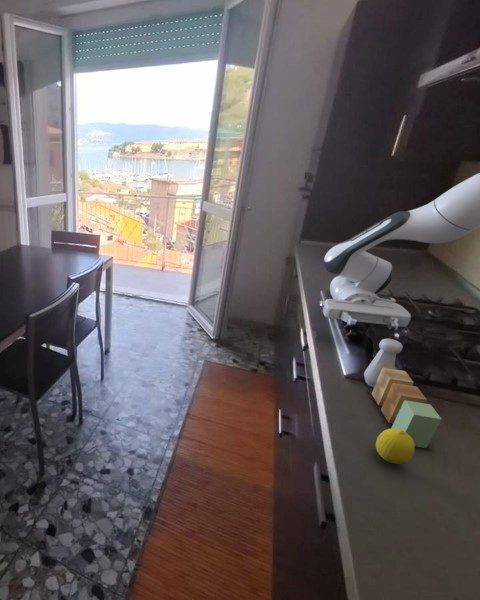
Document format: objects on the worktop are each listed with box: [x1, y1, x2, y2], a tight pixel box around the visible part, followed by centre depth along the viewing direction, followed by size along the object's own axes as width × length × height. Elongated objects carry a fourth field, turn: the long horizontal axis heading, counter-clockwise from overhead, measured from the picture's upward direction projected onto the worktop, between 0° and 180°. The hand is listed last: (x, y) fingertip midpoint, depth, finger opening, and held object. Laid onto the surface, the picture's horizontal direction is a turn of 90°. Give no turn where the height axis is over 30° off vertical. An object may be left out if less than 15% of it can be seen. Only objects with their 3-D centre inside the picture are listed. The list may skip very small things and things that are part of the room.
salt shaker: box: [363, 338, 403, 388], centre depth 90 cm, size 6×6×13 cm
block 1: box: [371, 368, 415, 407], centre depth 85 cm, size 4×4×8 cm
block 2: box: [380, 383, 428, 425], centre depth 80 cm, size 4×4×8 cm
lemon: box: [375, 428, 416, 465], centre depth 70 cm, size 6×6×8 cm
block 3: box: [391, 400, 443, 449], centre depth 75 cm, size 4×4×8 cm
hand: (373, 325), depth 97 cm, fingers open, 8 cm apart
